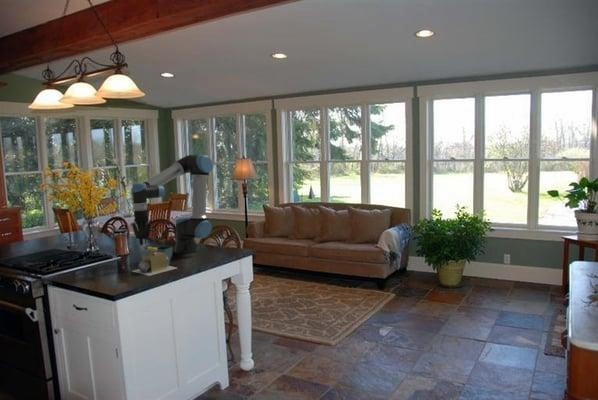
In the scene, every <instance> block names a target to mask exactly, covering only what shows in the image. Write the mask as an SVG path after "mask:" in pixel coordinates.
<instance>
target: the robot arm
mask: <svg viewBox="0 0 598 400" xmlns="http://www.w3.org/2000/svg"><path fill="white" fill-rule="evenodd" d="M213 168H214V163H213V160H212V158H211V157H210V156H209V155H206V154H202V153H201V154H188V155H185V156H183V157H181V158H179V159H178V160H176V161H174V162H173V163H172V165H171V166H169V167H167V168H165V169H164V170H163V171H160V172H159V173H157V174H156V175H154V176H152V177H151V178H149V179H147V180H146V181H144V182H138V183H135V182H134V183H133V184H132V188H131V194H132V200H133V201H132V202H133V216H134V220H133V222H131V223H130V226H131V227H132V230H133V233H134V236H135V239H136V240H139V246H140V250H141V251H147V249H145V245H147V239H148V238H149V237H150V235H151V234H150V233H151V227H152V223H153V220H151V219H149V211H148V200H149V199H159V198H162V197H163V196H165V194H166V193H165V192H166V191H165V187H164V186H163V185H165V184H167V183H169V182H170V181H172V180H174V179H176V178H177V177H178V176H184V175H185V174H189V173H190V176H191V177H192V206H191V208H192V209H191V210H192V211H191V212H192V213H191V215H190V216H187V217H186V216H185V217H181V218H176V219H175V225H174V226H175V235H176V243H175V246H174V247H175V248H174V253H175V254H179V255H185V254H192V253H193V254H194V253H196V252H198V251H199V247H198V245H197V242H196V240H195V239H205V238H207V237H209V235H210V234H211V232H212V224H211V222H210V221H209V216H207V214H206V212H207V178H208V177H209V176H210V173H211V171H212V170H213Z"/></svg>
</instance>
